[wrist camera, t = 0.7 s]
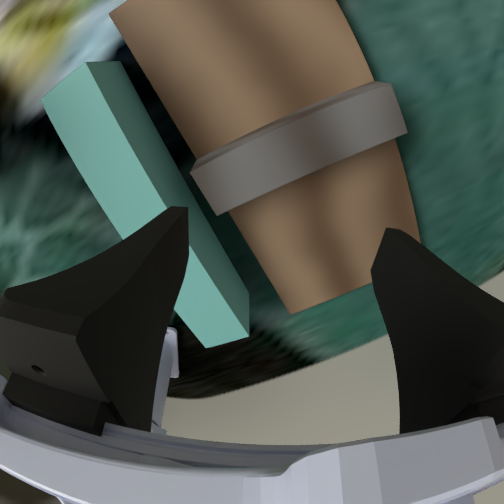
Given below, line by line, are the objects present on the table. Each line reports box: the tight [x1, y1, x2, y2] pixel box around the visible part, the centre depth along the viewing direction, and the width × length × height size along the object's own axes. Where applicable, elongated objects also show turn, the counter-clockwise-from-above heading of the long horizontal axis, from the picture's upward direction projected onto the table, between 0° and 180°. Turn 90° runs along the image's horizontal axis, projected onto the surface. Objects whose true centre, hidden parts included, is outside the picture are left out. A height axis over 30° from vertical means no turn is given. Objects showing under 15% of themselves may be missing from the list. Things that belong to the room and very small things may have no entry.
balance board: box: [109, 0, 421, 315], centre depth 17 cm, size 12×26×4 cm, turn 27°
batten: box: [40, 61, 249, 348], centre depth 19 cm, size 20×4×5 cm, turn 24°
